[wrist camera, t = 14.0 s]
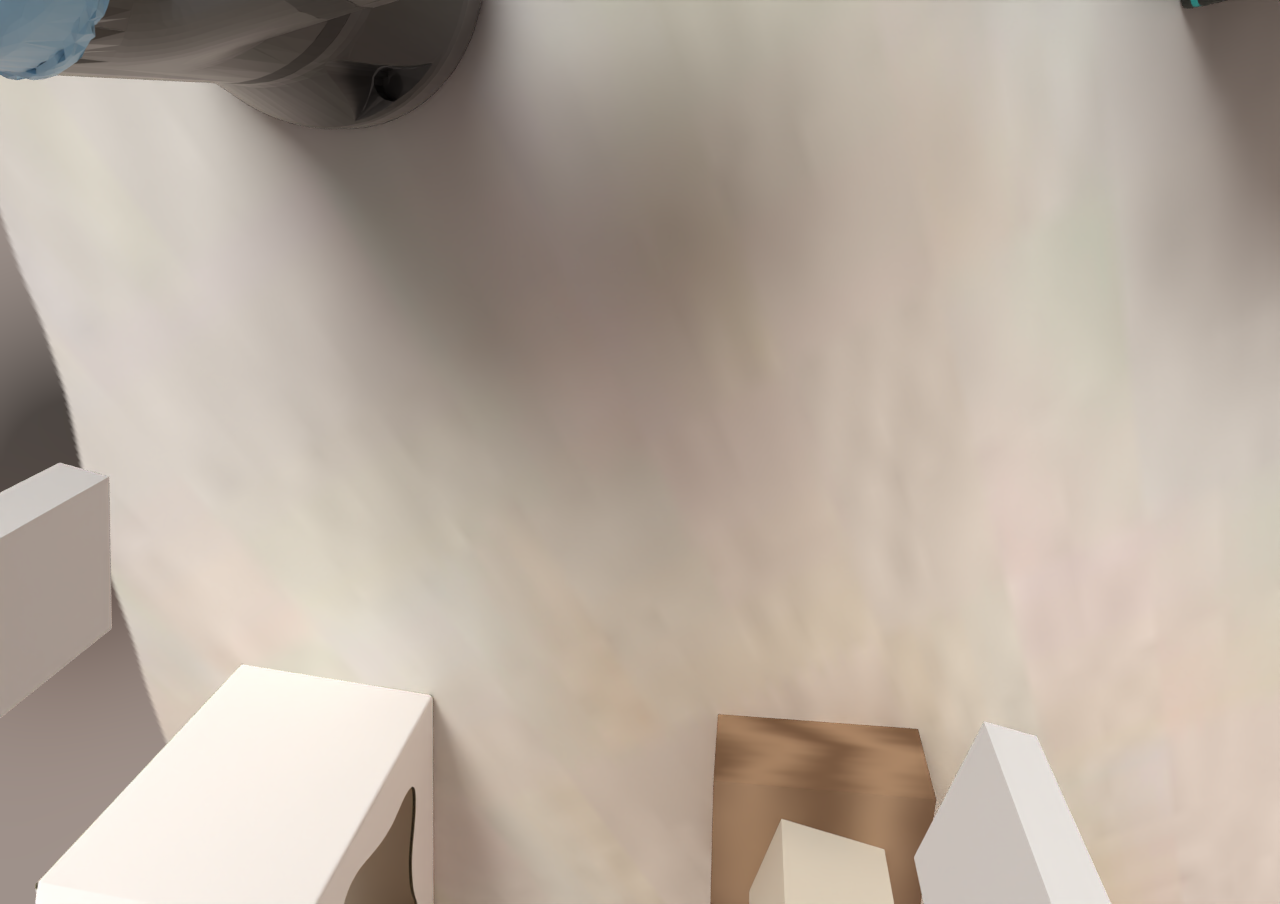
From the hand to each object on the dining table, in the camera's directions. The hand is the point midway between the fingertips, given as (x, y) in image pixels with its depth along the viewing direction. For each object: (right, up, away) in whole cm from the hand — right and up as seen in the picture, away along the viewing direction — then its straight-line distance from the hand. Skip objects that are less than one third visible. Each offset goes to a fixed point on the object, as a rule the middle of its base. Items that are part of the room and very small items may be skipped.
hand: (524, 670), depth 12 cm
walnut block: (+13, -19, +42) cm, 47 cm away
